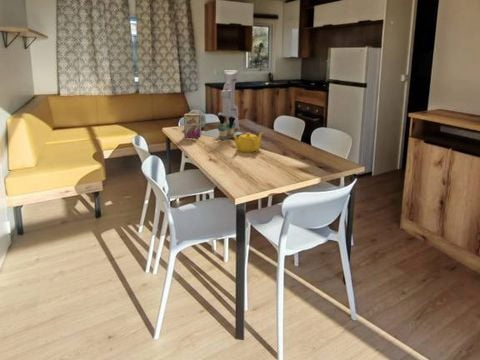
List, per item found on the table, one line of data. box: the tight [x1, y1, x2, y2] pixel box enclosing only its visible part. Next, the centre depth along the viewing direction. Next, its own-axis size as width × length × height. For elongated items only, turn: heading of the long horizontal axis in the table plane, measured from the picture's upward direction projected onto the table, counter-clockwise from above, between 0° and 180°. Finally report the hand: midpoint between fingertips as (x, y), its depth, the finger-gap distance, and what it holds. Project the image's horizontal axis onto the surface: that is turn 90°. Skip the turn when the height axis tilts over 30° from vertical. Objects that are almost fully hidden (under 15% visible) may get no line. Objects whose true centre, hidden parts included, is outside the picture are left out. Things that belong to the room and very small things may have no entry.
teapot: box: [233, 132, 264, 153], centre depth 239 cm, size 22×16×11 cm
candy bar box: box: [183, 113, 202, 139], centre depth 271 cm, size 11×5×16 cm, turn 84°
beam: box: [217, 122, 235, 131], centre depth 275 cm, size 14×4×4 cm, turn 142°
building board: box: [201, 128, 245, 141], centre depth 281 cm, size 24×26×5 cm
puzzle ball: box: [187, 109, 207, 129], centre depth 298 cm, size 15×15×15 cm
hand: (226, 126), depth 276 cm, fingers open, 7 cm apart
